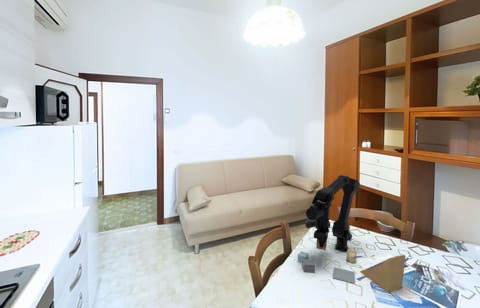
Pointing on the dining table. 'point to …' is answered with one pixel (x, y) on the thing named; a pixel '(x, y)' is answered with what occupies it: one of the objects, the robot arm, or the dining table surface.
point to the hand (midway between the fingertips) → (321, 245)
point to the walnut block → (319, 245)
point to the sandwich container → (387, 273)
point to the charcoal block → (308, 265)
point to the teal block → (302, 256)
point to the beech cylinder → (351, 256)
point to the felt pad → (344, 275)
